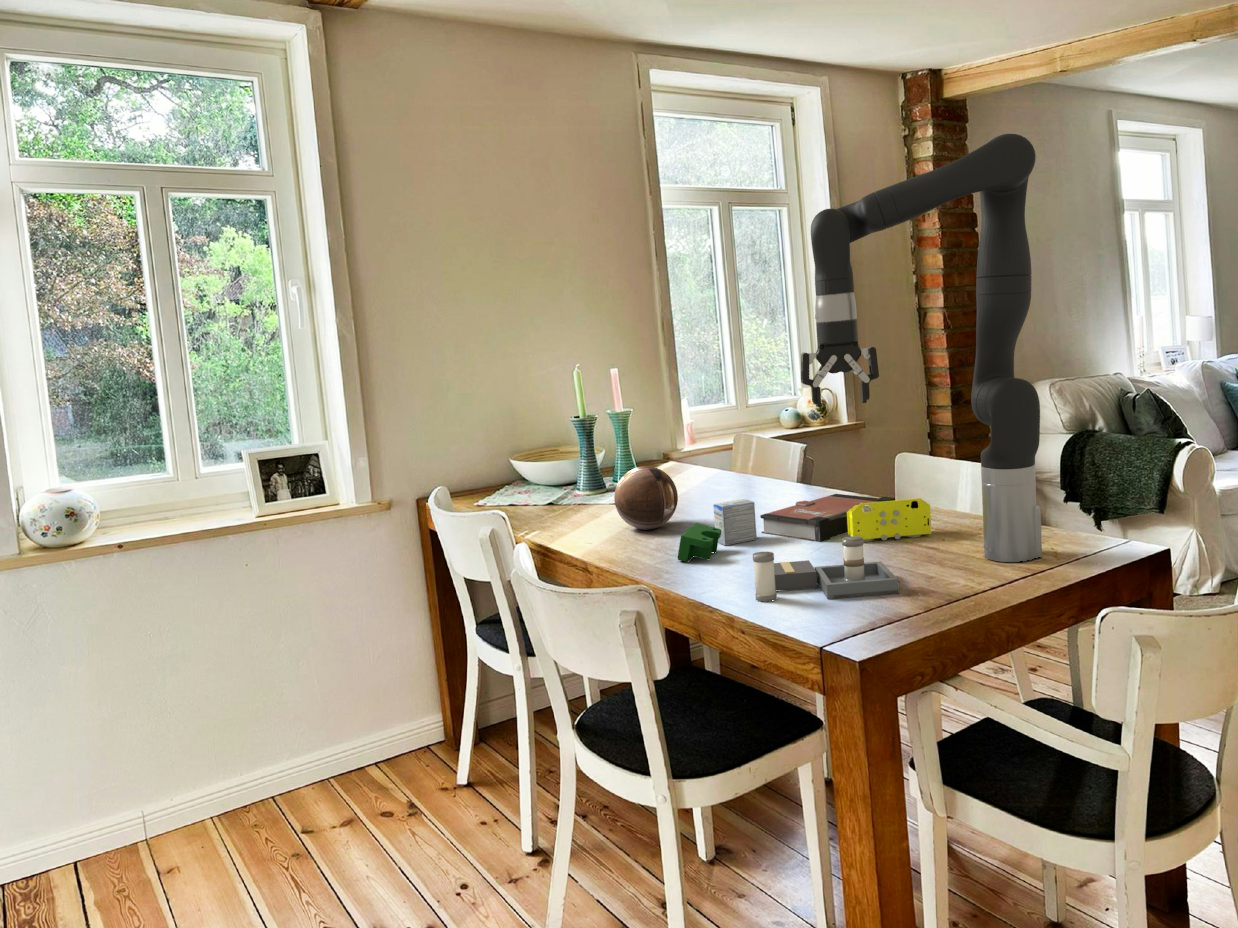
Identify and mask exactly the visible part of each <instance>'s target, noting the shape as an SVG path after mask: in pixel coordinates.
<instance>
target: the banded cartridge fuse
mask: <svg viewBox="0 0 1238 928" xmlns="http://www.w3.org/2000/svg"><path fill="white" fill-rule="evenodd" d="M841 544H842V550H843V552H842V553H843V554H842V555H843V558H842V559H843V561H842V562H843V565H844V574H845V577H844V582H849V581H861V580H865V575H864V563H865V557H864V542H863V538H862V537H857V536H850V535H849V536H846V537H843V538H842V539H841Z"/></svg>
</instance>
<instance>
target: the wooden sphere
mask: <svg viewBox="0 0 1238 928" xmlns="http://www.w3.org/2000/svg"><path fill="white" fill-rule="evenodd" d="M614 490H615V491H614V499H613V500H614V504H615V509H616V511H617V513H618V515H619V516H620V518H621V519H622V520H623V521H624V522H625V523H626V524H627V525H629V526H631V527H633V528H634V529H639V530H647V531H648V530H654V529H657V528H660V527H662V526H663V525H665V524H666V523H667V522H669V521H670V519H671V518H672V517H673V515H674V514H675V512H676V510H677V506H678V501H679V500H678V498H679V496H678V490H677V487H676V484H675V482H674V481H673V479H672V477H671V476H670V475H669V474H668V473H667V472H665V471H664V470H662V469H661V468H660V469H659V468H657V467H654V466H649V465H644V466H637V467H634V468H632V469H631V470H628V471H627V472H625V474H623V476H622V477H620V479H619V480H618V482H617V485H616V487H615V489H614Z"/></svg>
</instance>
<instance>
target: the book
mask: <svg viewBox="0 0 1238 928" xmlns="http://www.w3.org/2000/svg"><path fill="white" fill-rule="evenodd" d="M895 500H896V498H895V497H890V496H889V497H888V496H881V497H871V496H863V495H851V494H841V493H833V494H831V495H827V496H823V497H819V498H816V499H813V500H801V501H796V502H795V504H794V505H791V506H788V507H784V508H781V509H778V510H775V511H771V512H766V513H764V514H760V516H759V517H760V519H763V531H761V534H766V535H772V536H777V537H784V538H790V539H791V538H792V539H797V540H804V541H811V542H816V543H822V542H825V541H828V540H831V539H832V538H835V537H837V536H841V535H844V534H848V524H847V512H848V511H849V510H850V509H852V508H853V507H854V506H855V505H859V504H861V503H872V502H884V501H895Z"/></svg>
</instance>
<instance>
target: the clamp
mask: <svg viewBox="0 0 1238 928" xmlns="http://www.w3.org/2000/svg"><path fill="white" fill-rule="evenodd" d="M721 531H722V530H721V529H719V528H715V526H710V525H706V524H703V523H702V524H701V523H697V522H695V523H694V524H693V525H692V526H690V527H689V528H688V529H687V530H686V531H684V533H682V534H681V535H680V540H679V546H678V550H677V551H678V552H677V553H678V554H677V560H678V561H681V562H685V561H686V563H689V562H690V561H691V560H692V559H693V558H699V559H703V560H706V559H710V560H711V556H712V553H711V552H714V553H713V554H715V552H716V553H717V549H718V545H719V543H718V540H719V538H720V537H721ZM693 556H694V557H693ZM692 557H693V558H692ZM691 558H692V559H691ZM690 559H691V560H690ZM689 560H690V561H689ZM688 561H689V562H688Z"/></svg>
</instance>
